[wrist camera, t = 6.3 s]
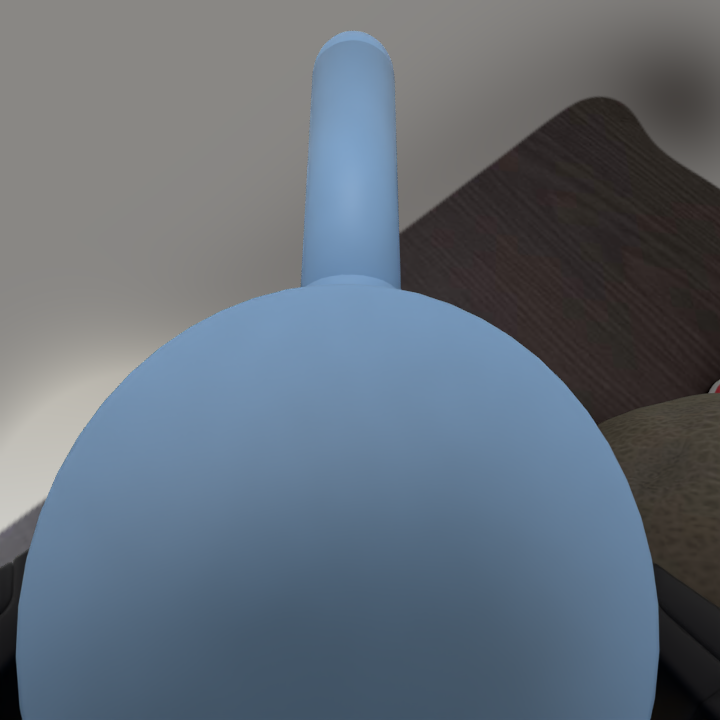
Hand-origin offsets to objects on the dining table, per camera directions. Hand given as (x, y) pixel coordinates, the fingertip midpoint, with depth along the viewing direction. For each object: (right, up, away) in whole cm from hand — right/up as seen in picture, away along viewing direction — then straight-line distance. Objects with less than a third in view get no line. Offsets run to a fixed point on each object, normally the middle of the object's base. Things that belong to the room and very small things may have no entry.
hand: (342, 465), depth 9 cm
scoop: (0, 0, +3) cm, 3 cm away
